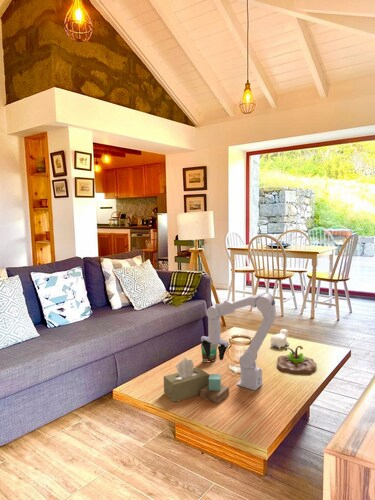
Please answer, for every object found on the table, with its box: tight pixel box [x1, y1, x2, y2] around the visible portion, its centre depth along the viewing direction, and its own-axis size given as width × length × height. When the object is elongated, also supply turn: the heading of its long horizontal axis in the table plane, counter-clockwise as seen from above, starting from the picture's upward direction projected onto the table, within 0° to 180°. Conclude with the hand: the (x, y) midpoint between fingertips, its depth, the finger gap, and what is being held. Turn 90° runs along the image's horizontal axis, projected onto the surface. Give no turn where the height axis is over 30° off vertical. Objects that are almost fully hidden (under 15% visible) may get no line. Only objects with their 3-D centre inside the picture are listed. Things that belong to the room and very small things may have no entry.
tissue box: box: [163, 357, 210, 403], centre depth 161 cm, size 19×10×16 cm, turn 120°
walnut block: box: [199, 384, 230, 405], centre depth 157 cm, size 9×9×4 cm
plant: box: [276, 345, 317, 375], centre depth 186 cm, size 20×20×11 cm
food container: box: [200, 343, 219, 362], centre depth 197 cm, size 12×6×10 cm, turn 143°
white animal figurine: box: [270, 328, 290, 350], centre depth 217 cm, size 9×8×15 cm
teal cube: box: [208, 373, 222, 391], centre depth 157 cm, size 5×5×5 cm
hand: (214, 357), depth 173 cm, fingers open, 7 cm apart
